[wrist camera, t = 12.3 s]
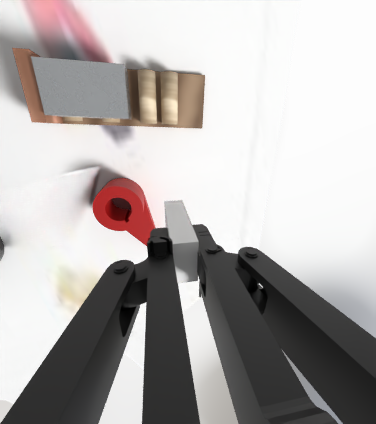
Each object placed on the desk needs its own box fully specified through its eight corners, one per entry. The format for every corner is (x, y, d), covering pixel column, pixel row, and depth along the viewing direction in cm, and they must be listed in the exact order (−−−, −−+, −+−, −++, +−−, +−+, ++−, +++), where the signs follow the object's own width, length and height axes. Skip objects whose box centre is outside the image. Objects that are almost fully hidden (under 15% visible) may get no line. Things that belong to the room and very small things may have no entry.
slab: (57, 116, 32) (44, 115, 28) (46, 65, 29) (30, 56, 26) (131, 119, 34) (128, 118, 30) (127, 71, 31) (124, 64, 27)
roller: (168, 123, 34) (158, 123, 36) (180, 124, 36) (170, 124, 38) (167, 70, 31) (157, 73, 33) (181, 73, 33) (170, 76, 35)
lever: (92, 191, 42) (81, 201, 36) (129, 170, 41) (125, 177, 35) (138, 249, 49) (136, 266, 43) (170, 232, 49) (172, 246, 43)
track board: (53, 123, 35) (31, 121, 29) (40, 63, 32) (12, 47, 26) (201, 128, 40) (209, 128, 34) (203, 76, 36) (214, 65, 30)
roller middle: (145, 123, 34) (137, 123, 36) (160, 123, 36) (151, 123, 38) (142, 68, 31) (134, 71, 33) (158, 71, 32) (150, 75, 35)
